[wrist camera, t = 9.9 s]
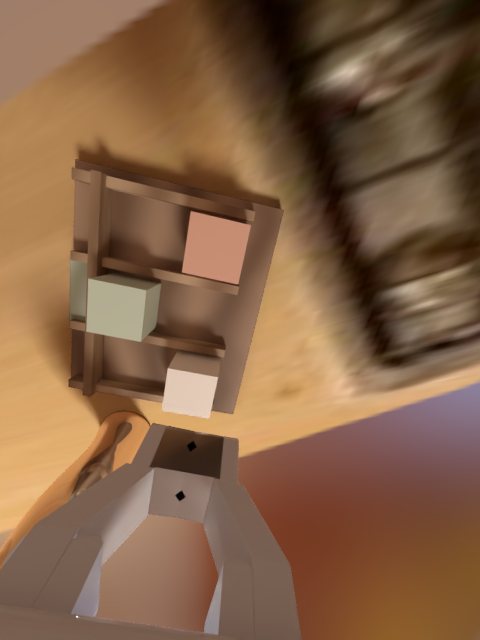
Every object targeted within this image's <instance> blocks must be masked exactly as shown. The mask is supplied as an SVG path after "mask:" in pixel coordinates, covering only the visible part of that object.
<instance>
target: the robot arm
mask: <svg viewBox="0 0 480 640" xmlns="http://www.w3.org/2000/svg"><path fill="white" fill-rule="evenodd" d="M238 450H239V441H238V439H236V438H230V437H223V436H218V435H212V434H207V433H201V432H195V431H190V430H185V429H181V428H176V427H171V426H165V425H160V424H156V423H153V424H152V425H151V426H150V428H149V430H148V431H147V433H146V435H145V437H144V439H143V441H142V443H141V445H140V447H139V449H138V451H137V453H136V455H135V457H134V458H133V460H132V462H131V464H129V463H125V464H124V465H122V466H121V467H119V468H118V469H116V470H115V471H113V472H112V473H110V474H109V475H107V476H106V477H104V478H103V479H101V480H100V481H98V482H97V483H95V484H94V485H92V486H91V487H89V488H88V489H86V490H85V491H83V492H82V493H80V494H79V495H77V496H76V497H74V498H73V499H72V500H70V501H69V502H67V503H66V504H64V505H63V506H61V507H60V508H58V509H57V510H55V511H54V512H52V513H51V514H49V515H48V516H46V517H45V518H43V519H42V520H40V521H39V522H37V523H36V524H35V525H34V526H33V528H32V529H31V530H30V532H29V533H28V534H27V536H26V537H25V538H24V540H23V541H22V542H21V544H20V545H19V546H18V548H17V549H16V550H15V552H14V553H13V554H12V556H11V557H10V558H9V560H8V561H7V562H6V564H5V565H4V566H3V568H2V569H1V570H0V640H301V635H300V628H299V621H298V614H297V607H296V601H295V595H294V587H293V580H292V574H291V567H290V564H289V562H288V561H287V559H286V557H285V556H284V554H283V552H282V550H281V549H280V547H279V545H278V543H277V542H276V540H275V538H274V537H273V535H272V534H271V532H270V530H269V528H268V526H267V525H266V523H265V521H264V520H263V518H262V516H261V515H260V513H259V511H258V509H257V508H256V506H255V504H254V503H253V501H252V499H251V497H250V496H249V494H248V492H247V491H246V489H245V487H244V485H243V484H241V483H238ZM148 514H153V515H160V516H167V517H175V518H181V519H185V520H190V521H195V522H200V523H204V524H203V526H204V529H205V532H206V535H207V538H208V542H209V545H210V548H211V551H212V555H213V558H214V561H215V564H216V568H217V571H218V574H219V580H218V583H217V586H216V589H215V592H214V596H213V599H212V602H211V606H210V609H209V612H208V615H207V618H206V622H205V628H204V629H205V630H204V633H202V632H196V631H189V630H182V629H175V628H168V627H160V626H154V625H147V624H140V623H133V622H126V621H119V620H111V619H105V618H98V617H95V615H96V613H97V610H98V605H99V593H100V592H99V591H100V579H101V566H102V565H103V563H105V562H106V560H107V559H108V558H109V557H110V556H111V555H112V554H113V553H114V552H115V551H116V550H117V549H118V548H119V546H120V545H121V544H122V543H123V542H124V541H125V540H126V539H127V538H128V537H129V536H130V534H131V533H132V532H133V531H134V530H135V529H136V528H137V527H138V526H139V525H140V524H141V523H142V522H143V521H144V519H145V518H146V517H147V516H148Z"/></svg>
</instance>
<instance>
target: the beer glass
mask: <svg viewBox="0 0 480 640" xmlns="http://www.w3.org/2000/svg"><path fill="white" fill-rule="evenodd" d="M149 428H150V425H149V423H148V422H147V421H146V420H145V419H144V418H143V417H141V416H140V415H138V414H135V413H132V412H126V411H121V412H116V413H113V414H111V415H109V416H108V417H107V418H106V419H105V420H104V421H103V423H102V425H101V427H100V429H99V431H98V433H97V435H96V437H95V439H94V441H93V442H92V444H91V445H90V446H89V447H88V449H87V450H86V451H85V452H84V453H83V454H82V455H81V456H80V457H79V458H78V459H77V460H76V461H75V462H74V463H73V464H72V465H71V466H69V467H68V468H67V469H66V470H65V471H64V472H63V473H62V474H61V475H60V476H59V477H58V478H57V479H56V480H55V481H54V482H53V483H52V484H51V485H50V486H49V488H48V489H47V490H46V491H45V492H44V493H43V494H42V495H41V496H40V497H39V499H38V500H37V501H36V502H35V503H34V505H33V506H32V507H31V508H30V509H29V511H28V512H27V513H26V514H25V516H24V517H23V518H22V520H21V521H20V522H19V524H18V525H17V526H16V528H15V529H14V530H13V532H12V533H11V535H10V536H9V537H8V539H7V540H6V542H5V543H4V545H3V546H2V547H1V549H0V570H1V569H2V568H3V566H4V565H5V564H6V562H7V561H8V560H9V558H10V557H11V556H12V554H13V553H14V552H15V550H16V549H17V548H18V546H19V545H20V544H21V542H22V541H23V540H24V538H25V537H26V536H27V534H28V533H29V532H30V530H31V529H32V528H33V526H34V525H35V524H36V523H37V522H39V521H40V520H42V519H43V518H45V517H46V516H48V515H49V514H51V513H52V512H54V511H55V510H57V509H58V508H60V507H61V506H63V505H64V504H66V503H67V502H69V501H70V500H72V499H73V498H74V497H76V496H77V495H79V494H80V493H82V492H83V491H85V490H86V489H88V488H89V487H91V486H92V485H94V484H95V483H97V482H98V481H100V480H101V479H103V478H104V477H106V476H107V475H109V474H110V473H112V472H113V471H115V470H116V469H118V468H119V467H121V466H122V465H124V464H125V463H129V464H131V462H132V460H133V458H134V457H135V455H136V453H137V451H138V449H139V447H140V445H141V443H142V441H143V439H144V437H145V435H146V433H147V431H148V430H149Z"/></svg>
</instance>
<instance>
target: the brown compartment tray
mask: <svg viewBox="0 0 480 640" xmlns="http://www.w3.org/2000/svg"><path fill="white" fill-rule="evenodd" d="M72 179H74V180H75V202H74V251H71V257H70V311H69V319H70V324H69V328H70V329H72V363H71V379H69V387H73V388H79V389H83V395H86V396H92V395H93V394H94V393H95V392H102V393H108V394H114V395H119V396H125V397H131V398H137V399H143V400H149V401H154V402H160V403H163V398H164V391H165V384H166V377H167V370H168V367H169V365H170V363H171V362H172V360H173V358H174V356H175V355H176V353H177V351H178V350H183V351H188V352H193V353H199V354H204V355H209V356H214V357H220V358H221V360H220V367H219V375H218V380H217V385H216V390H215V394H214V399H213V404H212V408H211V411H217V412H222V413H228V414H233V413H234V409H235V405H236V401H237V397H238V393H239V389H240V385H241V381H242V377H243V373H244V369H245V365H246V361H247V357H248V353H249V349H250V345H251V341H252V337H253V333H254V329H255V325H256V321H257V316H258V312H259V308H260V304H261V300H262V296H263V292H264V288H265V284H266V280H267V276H268V272H269V268H270V264H271V260H272V256H273V252H274V248H275V244H276V240H277V236H278V232H279V228H280V224H281V220H282V216H283V212H284V210H282V209H278V208H274V207H270V206H265V205H261V204H257V203H253V202H249V201H245V200H241V199H237V198H233V197H229V196H225V195H220V194H216V193H212V192H208V191H204V190H200V189H196V188H192V187H188V186H184V185H180V184H175V183H171V182H167V181H163V180H159V179H155V178H151V177H147V176H143V175H139V174H135V173H130V172H126V171H122V170H118V169H114V168H110V167H106V166H102V165H98V164H94V163H90V162H85V161H81V160H77V159H75V168H73V167H72ZM191 211H193V212H197V213H201V214H205V215H210V216H214V217H218V218H222V219H227V220H231V221H235V222H239V223H243V224H248V225H251V228H250V232H249V237H248V242H247V246H246V251H245V255H244V260H243V265H242V269H241V274H240V279H239V283H238V284H233V283H229V282H224V281H220V280H215V279H210V278H206V277H201V276H196V275H192V274H187V273H182V268H183V261H184V254H185V248H186V241H187V234H188V227H189V220H190V214H191ZM112 273H115V274H120V275H124V276H129V277H134V278H139V279H143V280H148V281H153V282H158V283H161V290H160V298H159V306H158V314H157V322H156V327H155V328H154V329H153V330H152V331H151V332H150V333H149V334H148V335H147V336H146V337H145V338H144V339H143V340H142V341H141V342H138V341H133V340H128V339H123V338H117V337H112V336H107V335H102V334H96V333H91V332H86V328H87V301H88V278H93V277H97V276H102V275H107V274H112Z"/></svg>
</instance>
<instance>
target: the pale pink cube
mask: <svg viewBox="0 0 480 640" xmlns="http://www.w3.org/2000/svg"><path fill="white" fill-rule="evenodd" d="M220 360H221V358H220V357H214V356H209V355H204V354H199V353H193V352H188V351H183V350H178V351H177V353H176V355H175V356H174V358H173V360H172V362H171V363H170V365H169V367H168V370H167V377H166V384H165V391H164V398H163V405H162V411H166V412H172V413H178V414H184V415H190V416H196V417H202V418H208V419H209V418H210V413H211V408H212V404H213V399H214V394H215V390H216V385H217V380H218V375H219V367H220Z"/></svg>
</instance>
